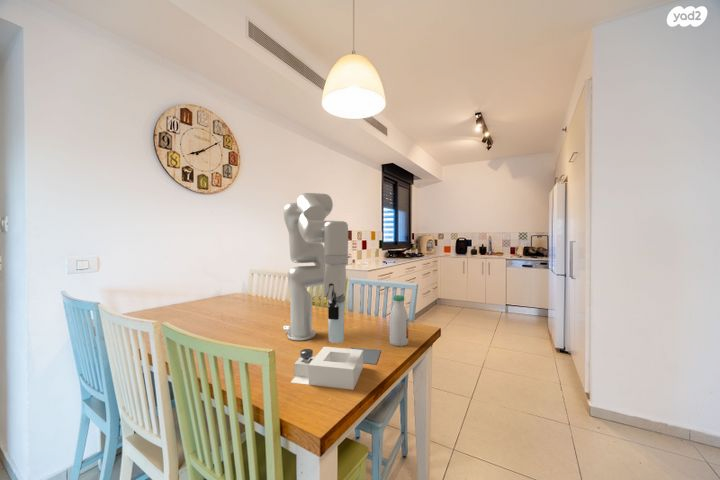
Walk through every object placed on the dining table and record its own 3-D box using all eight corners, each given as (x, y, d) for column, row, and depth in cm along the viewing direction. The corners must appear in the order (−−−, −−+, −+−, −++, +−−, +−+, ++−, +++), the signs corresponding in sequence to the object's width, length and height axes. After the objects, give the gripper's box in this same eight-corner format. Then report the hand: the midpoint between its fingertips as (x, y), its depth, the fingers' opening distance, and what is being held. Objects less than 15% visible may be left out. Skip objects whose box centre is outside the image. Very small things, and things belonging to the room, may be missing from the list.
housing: (288, 385, 88) (288, 362, 88) (306, 364, 102) (306, 345, 102) (353, 392, 84) (353, 369, 84) (363, 370, 98) (363, 349, 97)
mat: (342, 364, 102) (342, 360, 102) (351, 350, 114) (351, 347, 114) (376, 367, 100) (376, 363, 100) (381, 352, 111) (381, 349, 111)
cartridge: (335, 345, 89) (335, 299, 88) (323, 340, 92) (323, 296, 92) (348, 339, 93) (348, 296, 92) (336, 335, 97) (336, 293, 96)
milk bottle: (403, 348, 116) (403, 299, 115) (386, 344, 120) (386, 297, 119) (410, 342, 122) (410, 295, 122) (394, 338, 126) (394, 293, 126)
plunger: (298, 373, 93) (298, 353, 93) (303, 367, 97) (303, 348, 97) (310, 374, 92) (309, 354, 92) (314, 368, 96) (314, 349, 96)
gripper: (333, 256, 100) (333, 308, 101) (315, 262, 84) (315, 324, 85) (353, 257, 99) (353, 309, 100) (340, 263, 82) (340, 326, 83)
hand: (336, 315), depth 92 cm, fingers closed on cartridge, 5 cm apart
